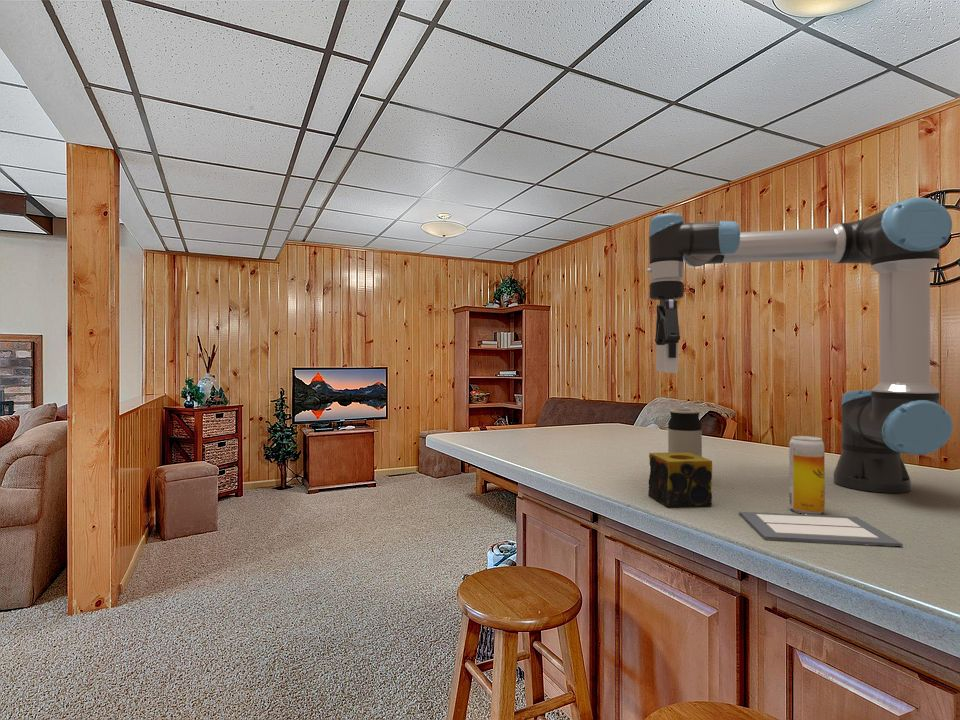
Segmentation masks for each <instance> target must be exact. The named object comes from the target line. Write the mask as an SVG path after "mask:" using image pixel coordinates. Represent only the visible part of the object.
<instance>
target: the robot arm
mask: <svg viewBox="0 0 960 720" xmlns="http://www.w3.org/2000/svg"><path fill="white" fill-rule="evenodd" d="M952 230H953V221H952V217H951V214H950V213H949V211H948V209H947V208H946V207H945V206H944V205H941V204H940V203H939V202H938V201H936V200H935V199H931V198H927V197H910V198H906V199H904V200H901V201H896V202H895V203H892V204H891V205H889V206H888V207H886V208H884V209H882V210H881V211H879V212H875V213H874V214H872V215H869V216H867V217H864V218H861V219H859V220H855V221H854V220H853V221H850V222H839V223H835V224H833V225H832V226H831V227H829V228H828V227H826V228H825V227H821V228H805V229H804V228H803V229H801V228H800V229H782V230H780V229H779V230H764V231H763V230H762V231H761V230H760V231H742V232H741V229H740V225H739V223H738V222H736V221H734V220H733V221H732V220H731V221H730V220H729V221H728V220H720V221H704V222H685V220H684V217H683V215H682V214H680V213H672V212H671V213H670V212H669V213H667V212H666V213H661V214H658V215H655V216H654V217H652V218H651V220H650V222H649V234H648V235H649V236H648V239H649V240H648V248H649V252H648V253H649V267H648V268H647V269H646V272H647V273H649V281H650V282H651V283H650V284H649V299H651V300H654V301H655V300H656V301H657V300H658V301H659V303H658V304H657V305H656V323H655V324H656V325H655V337H654V338H655V339H654V341H655V344H656V346H655V347H656V355H655V356H656V359H655V360H656V366H655V367H656V372H664V373H665V374H679V341H680V340H681V335H680V325H679V314H678V299H682V298H683V297H684V282H683V281H682V280H684V276H685V275H684V264H686V265H688V266H690V267H696V268H698V267H702V266H705V265H716V264H734V263H740V264H741V263H765V262H766V263H767V262H768V263H769V262H793V261H796V262H797V261H798V262H799V261H823V260H825V261H827V260H828V261H829V262H830V263H831V264H833V265H835V264H836V265H837V264H864V265H865V264H870V268H871V269H872V270H873V271H875V273H877V274H878V275H879V276H878V277H879V279H878V280H879V282H878V283H879V284H878V285H879V382H878V383H877V384H876V385H875V386H874V387H873V388H871V389H865V390H864V389H863V390H851V391H846V392H844V393H843V394H842V396H841V404H840V409H841V453H840V455H839V459H838V461H837V463H836V466H835V468H834V471H833V483H834V484H836V485H838V486H842V487H844V488H848V489H852V490H853V489H854V490H857V491H858V490H860V491H866V492H874V493H884V494H885V493H888V494H889V493H890V494H892V493H893V494H896V493H897V494H898V493H899V494H901V493H908V492H910V491H912V481H911V478H910V475H909V473H908V471H907V468H906V465H905V462H904V460H903V457H902V454H903V455H904V454H907V455H913V456H922V455H923V456H924V455H929V454H931V453H934V452H936V451H938V450H939V449H941V448H942V447H943V446H944V445H946V444H947V442H948V441H949V439H950V438H951V436H952V434H953V433H952V432H953V420H952V417H951V414H950V413H949V412H948V411H947V410H946V408H945V407H943V406H942V405H940V398H941V397H940V394H941V393H940V390H939V389H938V388H936V386H934V385H933V384H932V382H931V270H932V269H933V268H934V267H935V266H936V265H938V264H939V263H940V246H942V245H943V244H944V243H945V242H946V241H947V240H948V238H949V237H950V235H951V233H952Z"/></svg>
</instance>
